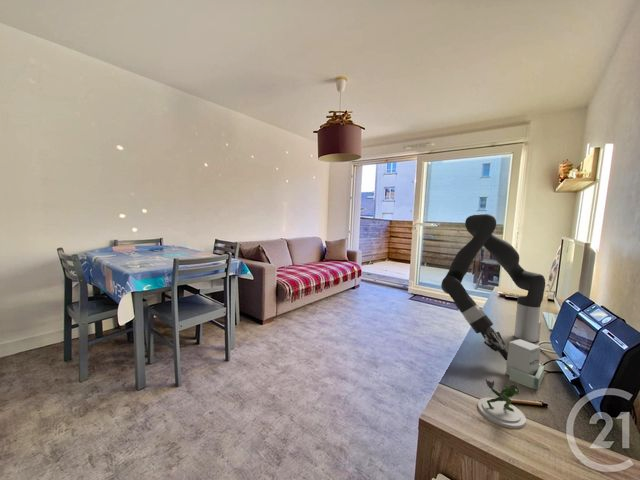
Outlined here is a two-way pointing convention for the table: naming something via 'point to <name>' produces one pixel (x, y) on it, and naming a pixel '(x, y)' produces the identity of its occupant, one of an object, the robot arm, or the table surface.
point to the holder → (528, 377)
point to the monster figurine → (502, 407)
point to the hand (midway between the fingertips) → (509, 359)
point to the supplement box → (523, 357)
